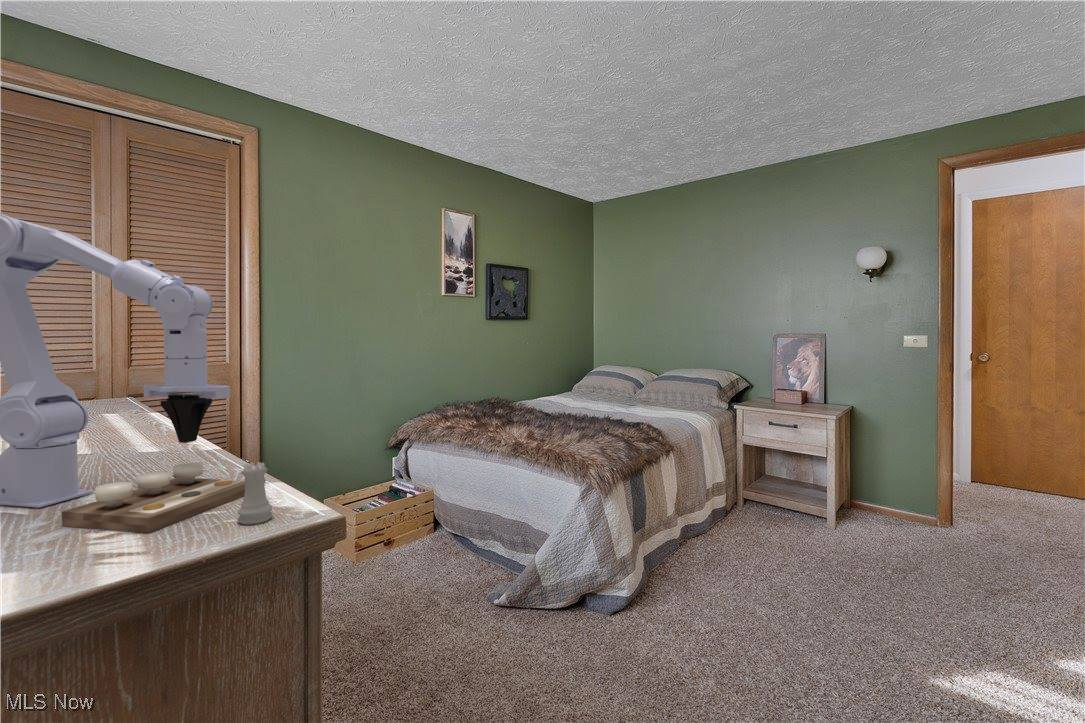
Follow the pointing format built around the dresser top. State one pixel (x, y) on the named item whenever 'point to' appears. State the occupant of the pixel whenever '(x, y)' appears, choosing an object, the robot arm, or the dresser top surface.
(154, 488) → the button mid
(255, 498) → the rook chess piece
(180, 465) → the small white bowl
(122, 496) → the button near
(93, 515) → the board
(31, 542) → the dresser top surface
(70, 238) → the robot arm
